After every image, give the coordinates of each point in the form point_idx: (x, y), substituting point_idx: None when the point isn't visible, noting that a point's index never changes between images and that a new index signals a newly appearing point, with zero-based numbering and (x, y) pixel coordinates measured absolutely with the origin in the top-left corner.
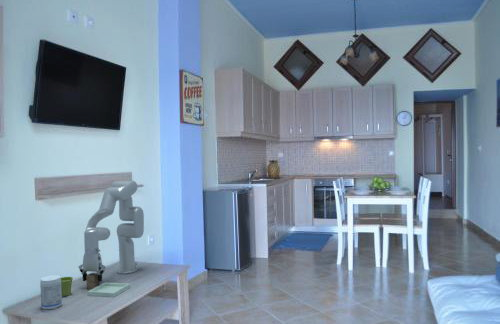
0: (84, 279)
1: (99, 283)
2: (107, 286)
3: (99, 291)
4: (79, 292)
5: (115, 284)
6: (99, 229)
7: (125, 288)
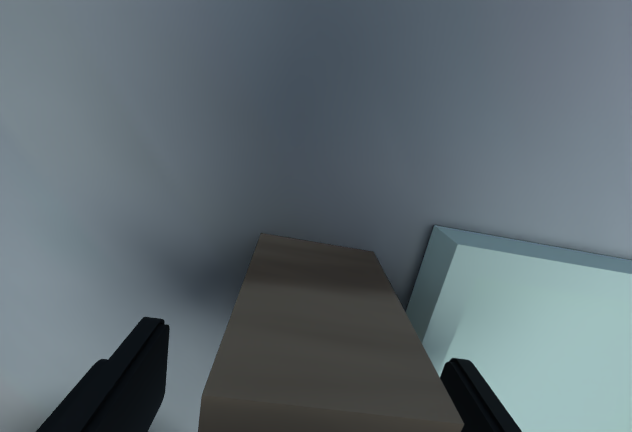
0: (151, 415)
1: (385, 279)
2: (490, 284)
3: None
4: None
5: (616, 296)
6: None
7: None
